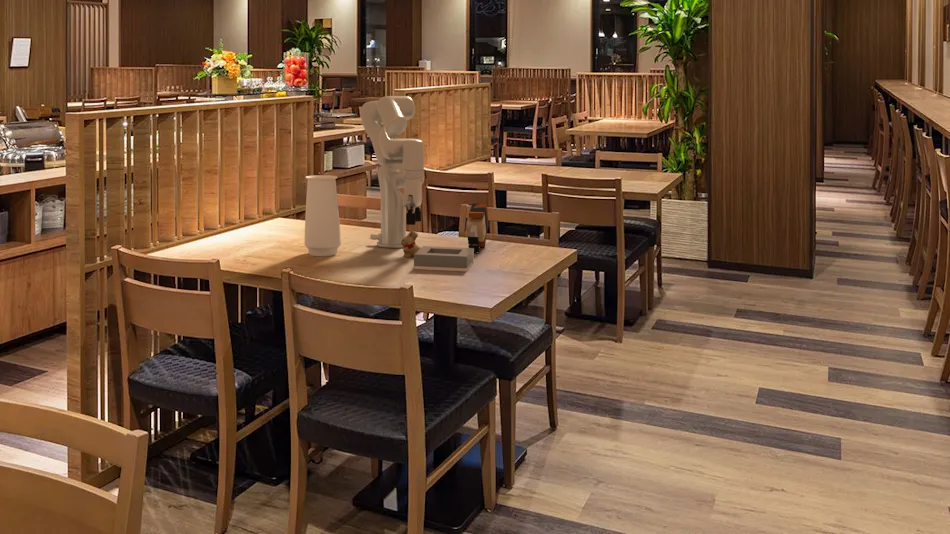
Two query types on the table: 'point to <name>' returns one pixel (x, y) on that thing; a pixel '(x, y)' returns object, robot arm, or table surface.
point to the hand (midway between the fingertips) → (413, 222)
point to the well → (444, 258)
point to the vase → (322, 216)
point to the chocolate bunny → (410, 244)
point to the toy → (477, 226)
